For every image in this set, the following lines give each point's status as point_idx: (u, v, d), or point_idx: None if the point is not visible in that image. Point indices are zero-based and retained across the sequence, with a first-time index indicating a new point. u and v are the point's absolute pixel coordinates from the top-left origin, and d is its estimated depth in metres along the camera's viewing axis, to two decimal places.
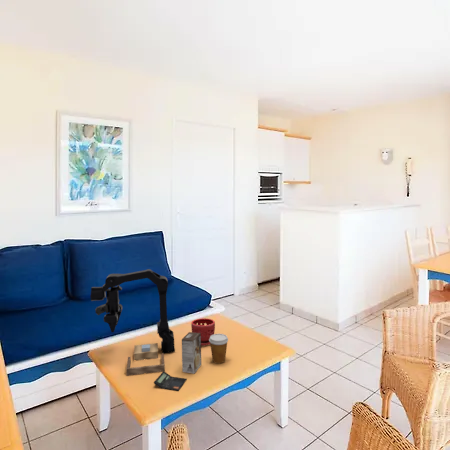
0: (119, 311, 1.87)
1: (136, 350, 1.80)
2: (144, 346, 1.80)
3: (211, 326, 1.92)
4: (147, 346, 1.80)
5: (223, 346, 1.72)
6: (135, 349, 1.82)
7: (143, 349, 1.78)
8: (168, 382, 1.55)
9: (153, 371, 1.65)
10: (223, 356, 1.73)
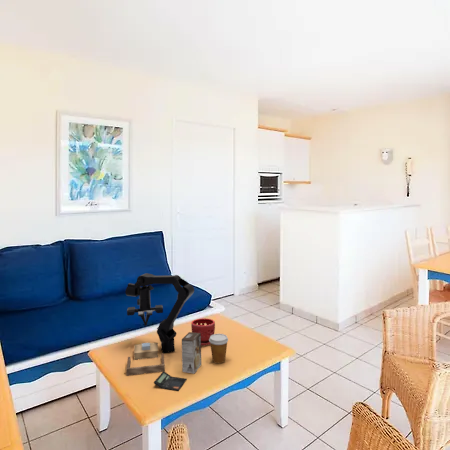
0: (148, 314, 1.89)
1: (136, 349, 1.81)
2: (144, 344, 1.82)
3: (211, 326, 1.92)
4: (147, 345, 1.81)
5: (223, 346, 1.72)
6: (135, 348, 1.82)
7: (143, 347, 1.80)
8: (168, 382, 1.55)
9: (153, 371, 1.65)
10: (223, 356, 1.73)
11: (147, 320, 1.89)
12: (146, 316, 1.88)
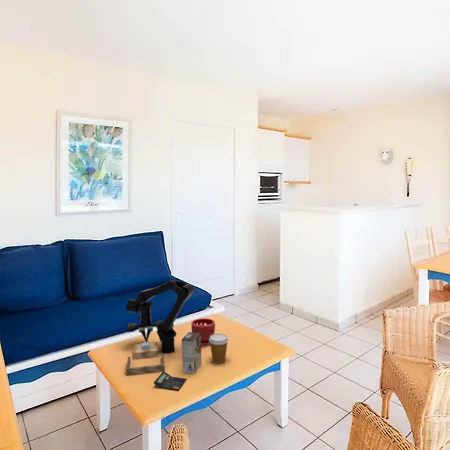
0: (148, 330, 1.90)
1: (136, 349, 1.82)
2: (144, 344, 1.82)
3: (211, 326, 1.92)
4: (147, 344, 1.82)
5: (223, 346, 1.72)
6: (135, 348, 1.83)
7: (143, 347, 1.81)
8: (168, 382, 1.55)
9: (153, 371, 1.65)
10: (223, 356, 1.73)
11: (148, 336, 1.90)
12: (147, 332, 1.89)
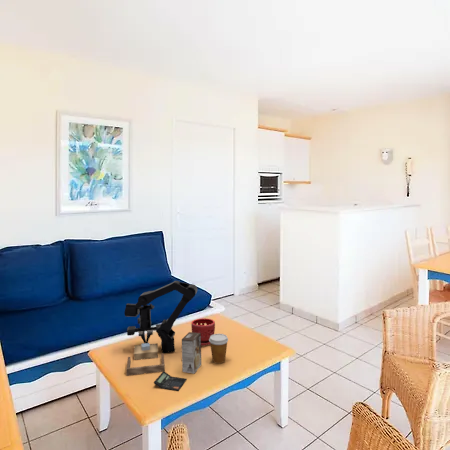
0: (148, 333, 1.86)
1: (136, 350, 1.81)
2: (144, 345, 1.82)
3: (211, 326, 1.92)
4: (147, 345, 1.82)
5: (223, 346, 1.72)
6: (135, 349, 1.82)
7: (143, 348, 1.80)
8: (168, 382, 1.55)
9: (153, 371, 1.65)
10: (223, 356, 1.73)
11: (147, 340, 1.87)
12: None
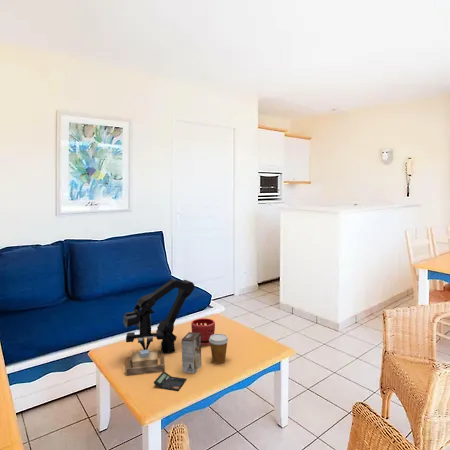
0: (148, 340, 1.78)
1: (135, 357, 1.72)
2: (143, 352, 1.74)
3: (211, 326, 1.92)
4: (146, 352, 1.74)
5: (223, 346, 1.72)
6: (134, 356, 1.74)
7: (142, 355, 1.72)
8: (168, 382, 1.55)
9: (153, 371, 1.65)
10: (223, 356, 1.73)
11: (147, 347, 1.78)
12: (146, 343, 1.77)
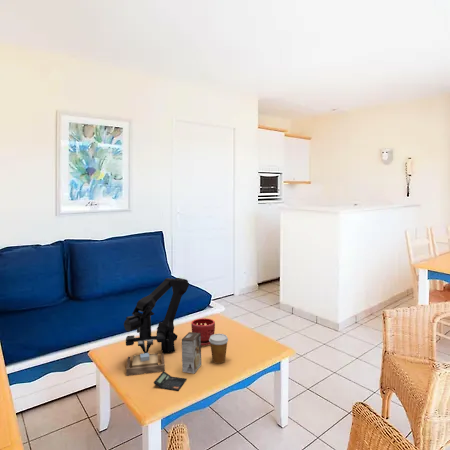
0: (148, 343, 1.74)
1: (135, 361, 1.69)
2: (143, 355, 1.70)
3: (211, 326, 1.92)
4: (146, 355, 1.70)
5: (223, 346, 1.72)
6: (134, 359, 1.70)
7: (142, 358, 1.68)
8: (168, 382, 1.55)
9: (153, 371, 1.65)
10: (223, 356, 1.73)
11: (147, 350, 1.75)
12: None
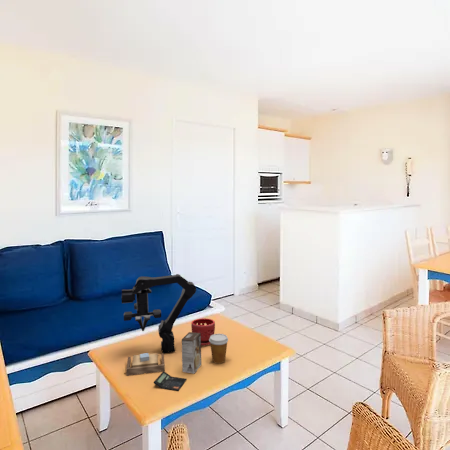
0: (145, 319, 1.81)
1: (135, 360, 1.69)
2: (143, 355, 1.70)
3: (211, 326, 1.92)
4: (146, 355, 1.70)
5: (223, 346, 1.72)
6: (134, 359, 1.70)
7: (142, 358, 1.68)
8: (168, 382, 1.55)
9: (153, 371, 1.65)
10: (223, 356, 1.73)
11: (145, 325, 1.82)
12: (144, 321, 1.81)
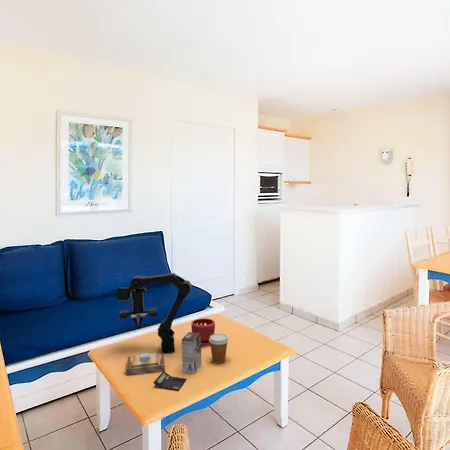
0: (141, 317, 1.84)
1: (135, 360, 1.69)
2: (143, 355, 1.70)
3: (211, 326, 1.92)
4: (146, 355, 1.70)
5: (223, 346, 1.72)
6: (134, 359, 1.70)
7: (142, 358, 1.68)
8: (168, 382, 1.55)
9: (153, 371, 1.65)
10: (223, 356, 1.73)
11: (140, 323, 1.85)
12: None
